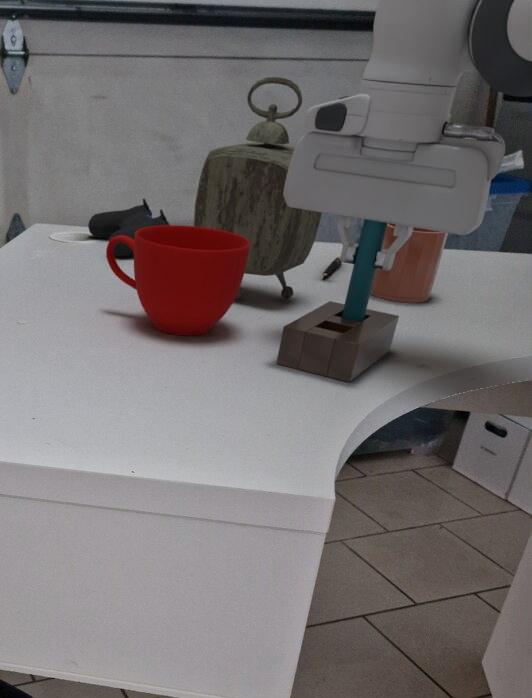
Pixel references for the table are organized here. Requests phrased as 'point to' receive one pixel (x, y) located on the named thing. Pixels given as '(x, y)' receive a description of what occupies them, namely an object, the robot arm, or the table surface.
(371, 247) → the teal square bar
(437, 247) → the tumbler
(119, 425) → the table surface
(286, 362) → the holder
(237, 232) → the tabletop clock
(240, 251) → the ceramic cup
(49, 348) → the table surface
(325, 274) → the fountain pen
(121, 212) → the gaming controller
